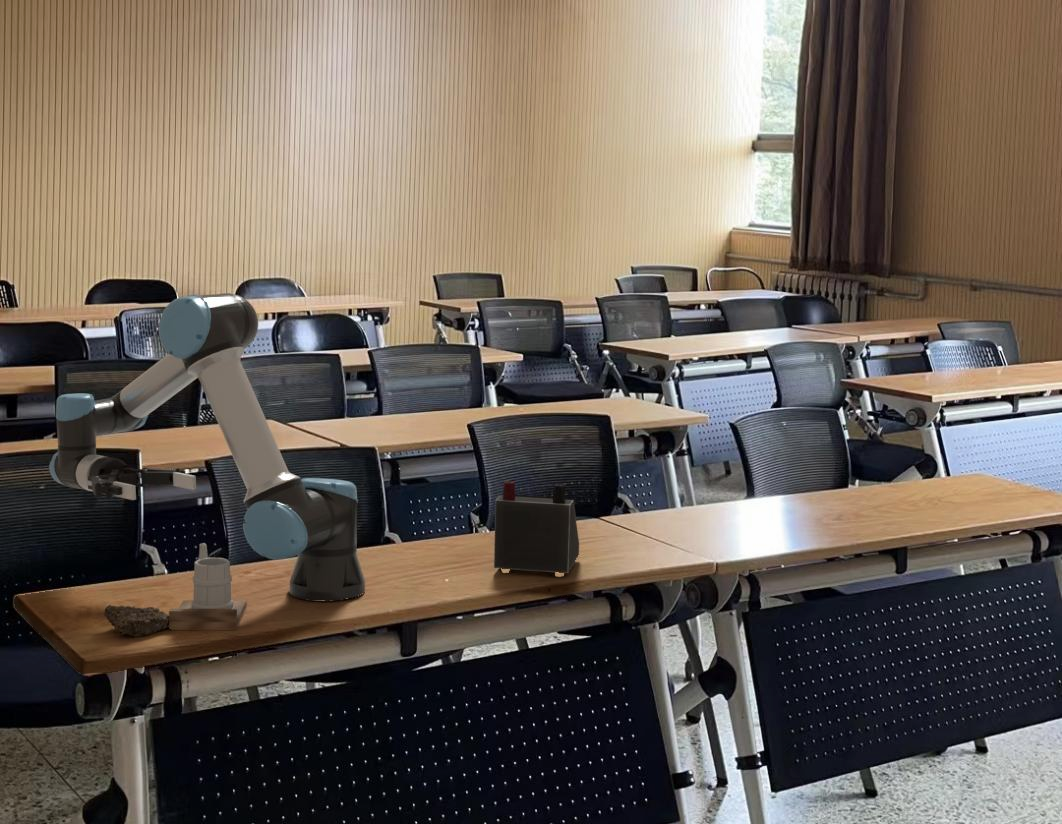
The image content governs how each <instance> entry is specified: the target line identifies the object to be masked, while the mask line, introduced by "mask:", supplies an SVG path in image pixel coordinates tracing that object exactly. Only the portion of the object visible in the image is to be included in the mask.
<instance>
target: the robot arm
mask: <svg viewBox="0 0 1062 824" xmlns="http://www.w3.org/2000/svg"><path fill="white" fill-rule="evenodd" d="M258 330H259V319H258V314H257V312H256V309H255V308H254V306H253V305H252V304H251V303H250V302H249V301H248V300H247V299H246V298H244V297H243V296H241V295H238V294H234V293H219V294H218V293H215V294H201V295H198V294H190V295H187V296H181V297H178V298H175V299H173V300H172V301H171V302H169V303H168V304H167V305H166V307H165V308H164V309H163V311H162V313H161V319H160V320H159V323H158V336H159V341H160V343H161V345H162V347H163V349H164V351H166V353H167V354H166V355H165V356H163V357H162V358H161V359H159V360H158V361H157V362H155V364H154V365H152V366H150V367H149V368H148V369H147V370H145V371H144V372H143V373H142V374H140V375H139V376H138V377H137V378H135V379H133V381H131V382H130V383H129V384H128V385H126V386H125V387H123V389H120V390H119V392H118V393H116V394H114V395H113V396H112V397H109V398H103V399H96V400H95V398H94V396H93V394H92V393H82V392H81V393H78V392H77V393H66V394H61V395H60V396H58V397H57V399H56V408H55V411H56V412H55V418H56V431H57V432H56V433H57V452H55V453H54V454H53V456H52V458H51V460H50V461H49V464H48V465H49V473H50V475H51V477H52V479H53V480H54V481H55V482H57V483H58V484H60V485H63V486H66V487H68V488H71V489H73V488H75V489H80V490H84V491H89V492H92V493H93V495H94V497H98V498H100V497H102V496H103V495H105V500H113V496H114V497H117V498H121V499H126V500H129V501H135V500H137V493H136V490H137V489H136V488H144V487H146V486H147V485H173V487H177V488H182V489H187V490H192V491H195V490H197V480H196V479H197V478H196V477H197V476H196V475H194V474H193V475H192V474H188V473H187V474H186V470H185V469H180V467H176V468H175V469H169V468H167V469H163V468H149V467H142V468H133V467H129V466H128V465H127V464H126V463H125V462H124V461H123V460H121V459H119V458H115V457H109V456H107V455H105V456H104V455H100V454H97V437H101V436H107V435H108V436H109V435H112V434H118V433H127V432H132V431H134V430H137V429H139V428H140V429H141V427H143V426H144V425H145V424H146V422H147V419H148V417H149V414H150V413H152V412H153V411H155V410H156V409H158V408H159V407H160V406H162V405H163V404H164V403H166V402H167V401H168V400H170V399H171V398H172V397H173V396H175V395H176V394H178V393H179V392H180V391H182V390H183V389H184V388H186V387H187V386H189V385H190V384H191V383H193V382H194V381H195V380H196V379H198V381H199V382H200V385H201V387H202V389H203V392H204V394H205V396H206V399H207V401H208V403H209V405H210V407H211V409H212V412H213V414H214V417H215V419H216V421H217V423H218V426H219V428H220V430H221V433H222V435H223V437H224V440H225V442H226V444H227V446H228V449H229V451H230V454H231V456H232V458H233V460H234V463H235V465H236V467H237V469H238V472H239V474H240V477H241V478H242V481H243V484H244V486H245V487H246V494H245V497H244V498H243V504H244V506H245V508H246V512H245V514H244V517H243V520H244V522H243V524H242V528H243V529H242V530H243V534H244V537H245V540H246V541H247V543H248V544H249V546H250V547H251V548H252V550H254V552H256V553H257V554H259V555H260V556H261V557H264V558H267V559H269V560H274V561H275V560H276V561H277V560H284V559H287V558H288V559H291V558H294V557H296V556H297V558H296V561H295V564H294V568H293V570H292V573H291V576H290V580H289V594H290V595H291V596H292V595H293V596H292V597H295V598H297V599H300V598H301V599H300V600H304V599H306V600H305V601H311V600H325V601H324V602H331V601H330V600H340V601H342V600H341V599H346V598H352V597H355V598H357V597H356V596H358V595H360V594H362V593H363V594H365V592H366V580H365V577H364V573H363V570H362V567H361V564H360V563H361V562H360V561H359V557H358V554H357V552H358V550H357V543H358V541H357V539H358V535H357V534H358V533H357V529H358V503H359V499H358V493H357V486H356V485H355V484H354V482H351V481H347V480H343V479H336V478H335V479H334V478H320V477H318V478H316V477H311V478H310V477H307V478H306V477H305V478H301V476H298V475H295V474H293V473H291V472H290V471H289V469H288V467H287V464H286V462H285V460H284V458H283V456H282V453H281V451H280V448H279V446H278V444H277V442H276V440H275V436H274V435H273V433H272V429H271V428H270V426H269V423H268V421H267V419H266V416H265V414H264V412H263V409H262V408H261V405H260V403H259V401H258V399H257V396H256V393H255V392H254V391H255V390H253V386H252V385H251V383H250V380H249V378H248V376H247V373H246V371H245V369H244V367H243V364H242V362H241V359H242V356H243V354H244V350H246V348H248V346H250V345H252V343H253V341H254V340H255V338H256V336H257V333H258ZM140 479H141V482H140ZM364 591H365V592H364ZM363 594H362V595H363ZM360 596H361V595H360ZM358 597H359V596H358ZM307 599H308V600H307ZM352 599H353V598H352Z"/></svg>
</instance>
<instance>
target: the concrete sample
mask: <svg viewBox="0 0 1062 824" xmlns="http://www.w3.org/2000/svg"><path fill="white" fill-rule="evenodd" d="M103 617H104V618H105V619H106V620H107V621H108V623H110V625H111V626H113V627H114V628H115V633H117V634H119V635H129V636H132V637H142V636H141V635H145V636H147V635H149V633H151V634H154V632H155V633H156V631H157V632H159V631H162V630H164V629H167V627H169V614H167V613H166V612H165V611H160V609H159V608H157V607H154V606H148V607H144V608H142V607H136V606H131V605H127V606H124V605H118V606H116V605H111V604H109V605H108V606H105V608H104V611H103Z"/></svg>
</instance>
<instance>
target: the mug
mask: <svg viewBox="0 0 1062 824" xmlns="http://www.w3.org/2000/svg"><path fill="white" fill-rule="evenodd" d="M198 551H199V554H198V559H197V560H195V561H194V569H193V570H194V571H193V572H194V573H193V576H192V583H193V601H192V604H191V607H192V609H232V608H233V601H234V600H233V599H232V585H231V583H232V582H233V578H232V577H233V576H232V573H231V565H230V564H231V563H230V562H231V561H229V559H227V558H224V557H208V547H207V544H206V543H205V542H203V543H200V544H199V550H198Z"/></svg>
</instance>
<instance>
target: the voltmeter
mask: <svg viewBox="0 0 1062 824" xmlns="http://www.w3.org/2000/svg"><path fill="white" fill-rule="evenodd" d="M574 501H575V500H574V499H568V497H566V485H564V484H561V483H560V484H559V483H557V484H553V492H552V496H540V495H538V496H537V495H526V494H525V495H524V494H516V482H515V481H510V480H506V481H503V490H502V495H498V497H497V498H495V502H494V503H495V504H494V505H495V506H494V507H495V509H494V511H495V512H494V513H495V514H494V550H493V551H494V553H493V554H494V555H493V568H494V569H500V568H502V569H511V570H520V571H532V572H534V571H535V572H548V573H554V572H559V573H565V574H569V572H570V571H569V570H571V569H572V567H573V566H574V564H575V562H576V561H577V559H578V557H579V556H580V540H579V539H580V538H579V531H578V524H577V517H576V516H577V515H576V509H575V502H574ZM578 555H579V556H578ZM576 558H577V559H576ZM575 560H576V561H575ZM572 565H573V566H572Z"/></svg>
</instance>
